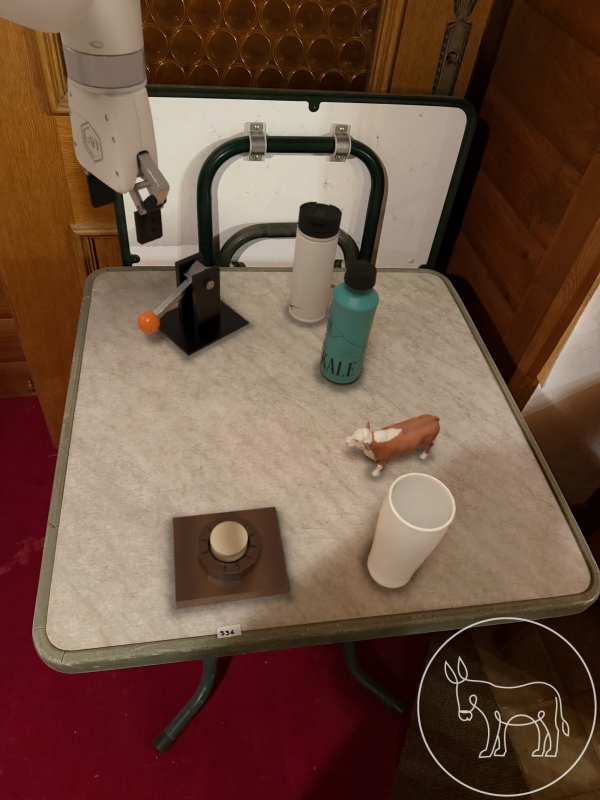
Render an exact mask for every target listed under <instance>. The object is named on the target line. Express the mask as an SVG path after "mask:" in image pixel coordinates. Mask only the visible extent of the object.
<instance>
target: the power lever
mask: <svg viewBox="0 0 600 800" xmlns="http://www.w3.org/2000/svg"><path fill="white" fill-rule="evenodd" d="M206 269H208V267H207V266H205V265H204V264H203V265H202V264H201V263H200V262H198V261H196V262H195V263H194V264H193V265H192V266H191V267H190V268H188V269H187V270H186V271H185V272H184V273H183V274H184V275H185V277H186V278H187V279H186V280H185V281H184V282H183V283H182V284H181V285H180V286H179V287H178V288H177V287H176V289H174V291H172V292H171V293H170V294H169V295H168V296H167V297H166V298H165V299H164V300H163V301H162V302H161V303H160V304H159V305H158V306H157V307H156V308H155V309H154V310H153V311H150V310H148V311H143V312H141V313H140V315H138V317H137V320H136V322H137V323H136V325H137V327H138V329H139V330H140V331H141V332H142V333H144V334H147V335H148V334H149V335H150V334H155V333H156V332H157V331H159V327H160V318H161V317H162V316H164V315H165V314H166V313H167V312H168V311H170V310H172V309H173V308H174V306H175V305H176V304H178V301H179V300H180V299H181V298H182V297H183V296H184V295H185V294H186V293H187V292H188V291H189V290H190V289H191V288H192V275H194V274H197V273H199V272H201V271H203V270H206Z"/></svg>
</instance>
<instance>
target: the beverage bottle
mask: <svg viewBox="0 0 600 800" xmlns="http://www.w3.org/2000/svg"><path fill="white" fill-rule="evenodd" d="M377 275H378V270H377V267H376V266H375V264H373V263H372V262H370V261H368V260H364V259H355V260H351V261H350V262H349V263H348V264H347V265H346V269H345V272H344V274H343V281H342V282H340V283H338V284H337V285H336V286H335V287H334V288H333V291H332V299H331V304H330V305H329V310H328V313H327V314H328V316H327V320H326V330H325V334H324V336H323V338H324V339H323V343H322V348H321V350H322V351H321V352H320V362H319V368H320V371H321V373H322V376H324V377H325V378H326V379H327V380H330V381H331V382H334V383H337V384H347V383H351V382H354V381H355V380H356V379H357V378H359V376H360V375H361V372H362V369H363V367H364V366H363V365H364V360H365V359H366V358H365V357H366V354H367V353H366V352H367V348H369V346H368V344H369V338H370V336H371V331H372V328H373V324H374V320H375V316H376V312H377V308H378V305H379V304H380V303H379V302H380V295H379V293H378V292H377V290H376V289H375V286H376V283H377Z"/></svg>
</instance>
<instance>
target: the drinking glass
mask: <svg viewBox="0 0 600 800" xmlns="http://www.w3.org/2000/svg"><path fill="white" fill-rule="evenodd" d="M456 510H457V509H456V501H455V498H454V496H453V493H452V491H451V490H450V489H449V487H447V485H445V484H444V483H443V482H442V481H441V480H440V479H438V478H437V477H435V476H432V475H430V474H427V473H422V472H408V473H405V474H402V475H400V476H399V477H397V478H396V479H395V480H393V482H392V483H391V485H390V486H389V489H388V490H387V493H386V495H385V497H384V500H383V502H382V505H381V507H380V510H379V514H378V518H377V523H376V527H375V531H374V535H373V539H372V544H371V547H370V552H369V554H368V557H367V561H366V563H367V570H368V573H369V575H370V577H371V578H372V579H373V580H374V581H375V582H376V583H377V584H378V585H380V586H382V587H385V588H388V589H397V588H401V587H404V586H405V585H406V584H408V582H409V581H410V580H412V579H411V578H412V577H413V575H414V574H415V572H417V570H418V569H419V568H420V567H421V565H422V564H423V563H424V562H425V561H426V560H427V558H428V557H429V556H430V555H431V554H432V552H434V551H435V549H436V548H437V547H438V545H440V543H441V541H442V540H443V539H444V537H445V536H446V534H447V532H448V530H449V528H450V526H451V524H452V522H453V521H454V518H455V516H456Z"/></svg>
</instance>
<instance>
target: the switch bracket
mask: <svg viewBox="0 0 600 800" xmlns="http://www.w3.org/2000/svg"><path fill="white" fill-rule="evenodd" d="M196 261H198V262H200V263H201V264H202V265H203V266H204V255H203V254H202V253H201V252H200V251H198V252H196V253H194V254H191V255H189V256H186V257H183V258H181V259H179V260H176V261H175V262H174V270H175V283H176V289H177V288H178V287H179V286H180V285H181V284H182V283H183V282H184V281H185V280H186V279H187V278H186V277H185V275H184V274H183V273H184V272H185V271H186V270H187V269H188V268H190V267H191V266H192V265H193V264H194V263H195V262H196ZM248 325H250V321H248V320H247V319H246V318H244V316H242V315H240V313H238V312H237V311H236V310H234V309H233V308H232V307H231V306H229V305H228V304H227V303H225V302H224V301H223V300H222V299H221V267H219V266H218V265H217V264H215V265H213V266H210V267H207V269H206V270H203V271H201V272H199V273H197V274H194V275H192V288H191V289H190V290H189V291H188V292H187V293H186V294H185V295H184V296H183V297H182V298H181V299H180V300H179V301H178V302H177V306H176V307H173V308H171V309H170V310H169V311H168V312H167V313H166V314H165V315H164V316H162V317H161V318H160V327H159V329H158V331H159V332H161V333H162V334H163V336H165V337H166V338H167V339H169V340H170V341H171V342H172V343H173V344H174V345H175V346H177V348H179V349H180V350H181V351H182V352H183V353H184V354H185V355H186V356H187V357H190V356H191V355H193V354H195V353H197V352H199V351H201V350H203V349H205V348H207V347H209V346H210V345H212V344H214V343H216V342H218V341H220V340H221V339H223V338H226V337H227V336H228V335H231V334H233V333H234V332H236V331H238V330H240V329H242V328H244V327H246V326H248Z"/></svg>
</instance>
